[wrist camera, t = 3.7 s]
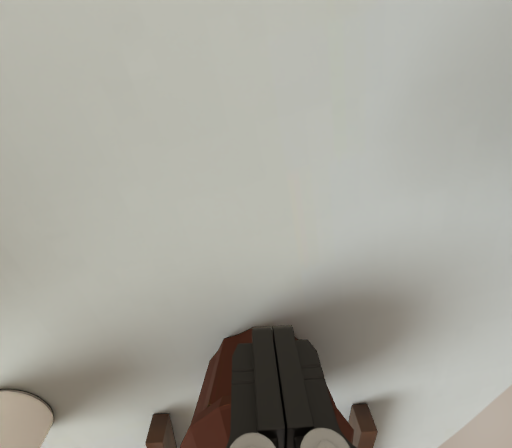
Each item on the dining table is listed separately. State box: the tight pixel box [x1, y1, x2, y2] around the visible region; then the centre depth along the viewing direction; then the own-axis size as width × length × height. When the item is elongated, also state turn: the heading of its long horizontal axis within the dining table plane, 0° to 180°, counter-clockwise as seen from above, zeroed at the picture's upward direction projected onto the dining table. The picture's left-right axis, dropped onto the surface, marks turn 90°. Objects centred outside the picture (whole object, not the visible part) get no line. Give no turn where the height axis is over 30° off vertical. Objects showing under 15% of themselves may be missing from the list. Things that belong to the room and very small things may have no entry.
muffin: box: [180, 328, 354, 448], centre depth 21 cm, size 12×11×10 cm
